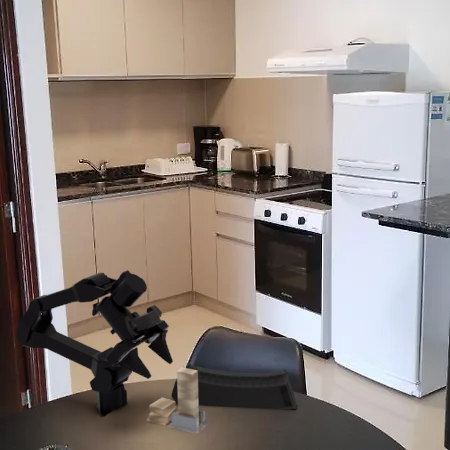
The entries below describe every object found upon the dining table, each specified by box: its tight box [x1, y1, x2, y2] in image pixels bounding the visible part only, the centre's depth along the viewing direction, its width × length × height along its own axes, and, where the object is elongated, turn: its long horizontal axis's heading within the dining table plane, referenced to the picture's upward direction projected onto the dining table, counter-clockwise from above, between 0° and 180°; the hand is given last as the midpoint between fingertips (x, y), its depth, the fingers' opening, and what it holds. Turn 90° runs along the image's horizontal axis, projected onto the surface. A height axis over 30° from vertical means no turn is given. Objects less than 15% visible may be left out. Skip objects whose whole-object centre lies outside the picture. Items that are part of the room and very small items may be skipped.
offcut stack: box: [146, 397, 178, 427], centre depth 153 cm, size 5×6×4 cm
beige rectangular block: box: [176, 367, 200, 425], centre depth 149 cm, size 4×2×13 cm, turn 63°
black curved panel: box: [170, 362, 298, 410], centre depth 159 cm, size 17×3×30 cm
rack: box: [167, 408, 211, 435], centre depth 150 cm, size 8×6×4 cm
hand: (161, 370), depth 151 cm, fingers open, 9 cm apart
